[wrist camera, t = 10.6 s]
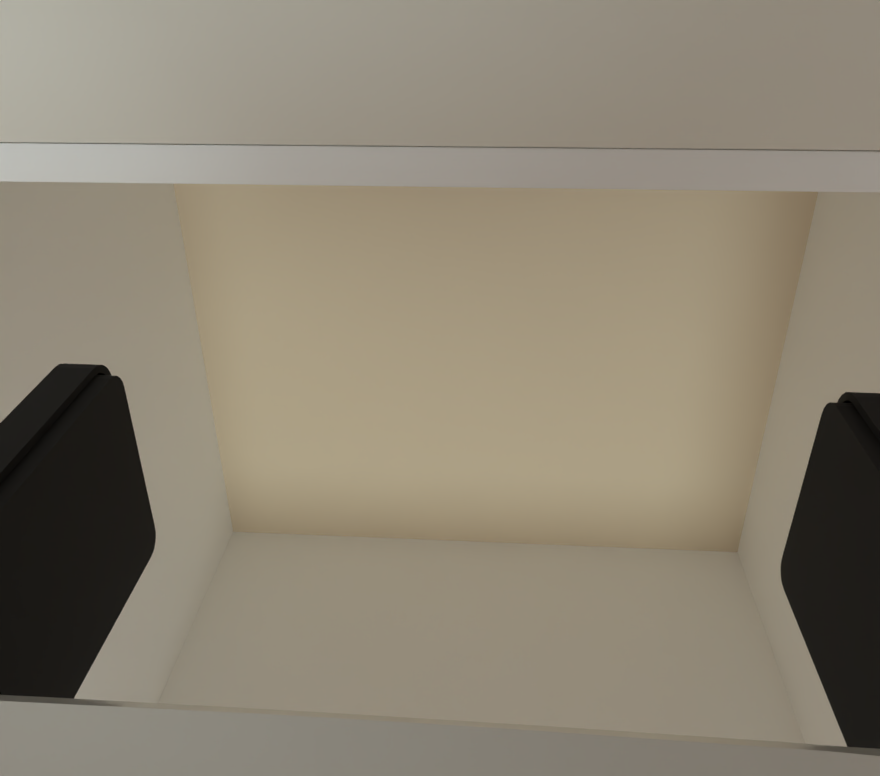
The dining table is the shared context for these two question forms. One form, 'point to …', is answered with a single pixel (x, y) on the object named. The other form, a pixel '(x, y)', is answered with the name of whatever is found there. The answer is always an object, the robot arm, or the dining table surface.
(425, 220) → the carton
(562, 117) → the flap
